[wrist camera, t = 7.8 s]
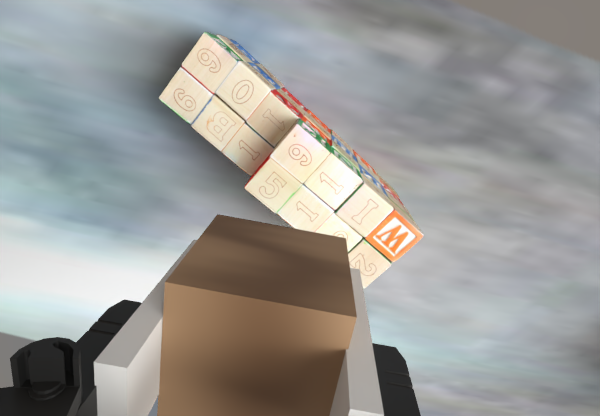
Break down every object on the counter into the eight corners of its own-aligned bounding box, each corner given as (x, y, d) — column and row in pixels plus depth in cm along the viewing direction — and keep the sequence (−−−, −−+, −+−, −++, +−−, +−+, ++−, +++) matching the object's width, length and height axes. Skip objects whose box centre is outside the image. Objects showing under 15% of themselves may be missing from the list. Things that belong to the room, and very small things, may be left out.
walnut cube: (206, 321, 16) (156, 424, 11) (217, 214, 14) (164, 282, 9) (320, 342, 16) (319, 454, 11) (345, 238, 14) (356, 317, 10)
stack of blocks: (196, 92, 36) (136, 99, 25) (236, 39, 35) (190, 21, 23) (353, 230, 40) (364, 292, 29) (396, 189, 38) (426, 238, 27)
